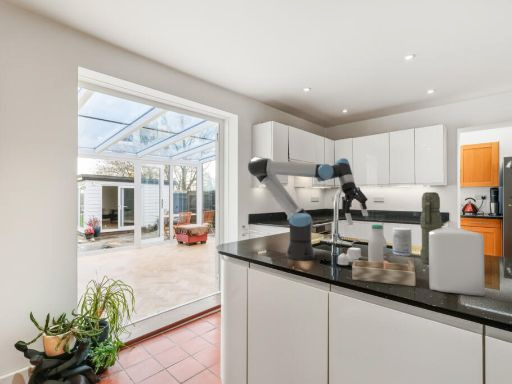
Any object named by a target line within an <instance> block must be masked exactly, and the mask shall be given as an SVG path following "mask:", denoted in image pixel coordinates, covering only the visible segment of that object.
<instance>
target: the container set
mask: <svg viewBox="0 0 512 384" xmlns="http://www.w3.org/2000/svg"><path fill="white" fill-rule="evenodd" d="M359 258H360V259H361V258H362V249H361V248H360V247H349V248H348V249H347V251H346V253H344V252H343V253H341V254H339V255H338V257H337V264H338V265H340V266H348V265H349V264H350V263H353V260H359Z"/></svg>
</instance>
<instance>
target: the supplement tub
mask: <svg viewBox="0 0 512 384" xmlns="http://www.w3.org/2000/svg"><path fill="white" fill-rule="evenodd" d="M412 253H413V252H412V228H408V227H392V254H394V255H396V256H400V255H401V257H403V256H404V257H408V256H411V255H412Z"/></svg>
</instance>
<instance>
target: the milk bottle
mask: <svg viewBox="0 0 512 384" xmlns="http://www.w3.org/2000/svg"><path fill="white" fill-rule="evenodd" d="M383 229H384V226H383V225H382V224H372V225H371V235H370V237H369V238H368V244H367V245H368V248H367V251H368V252H367V253H368V254H367V256H368V260H367V261H373V262H384V256H388V252H387V251H388V250H387V249H388V247H387V241H386V238H385V236H384V233H383Z"/></svg>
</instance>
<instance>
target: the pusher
mask: <svg viewBox="0 0 512 384" xmlns="http://www.w3.org/2000/svg"><path fill="white" fill-rule="evenodd" d="M388 261H389V256H388V255H387V256H384V269H388V270H389V268H388V263H389V262H388Z"/></svg>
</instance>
